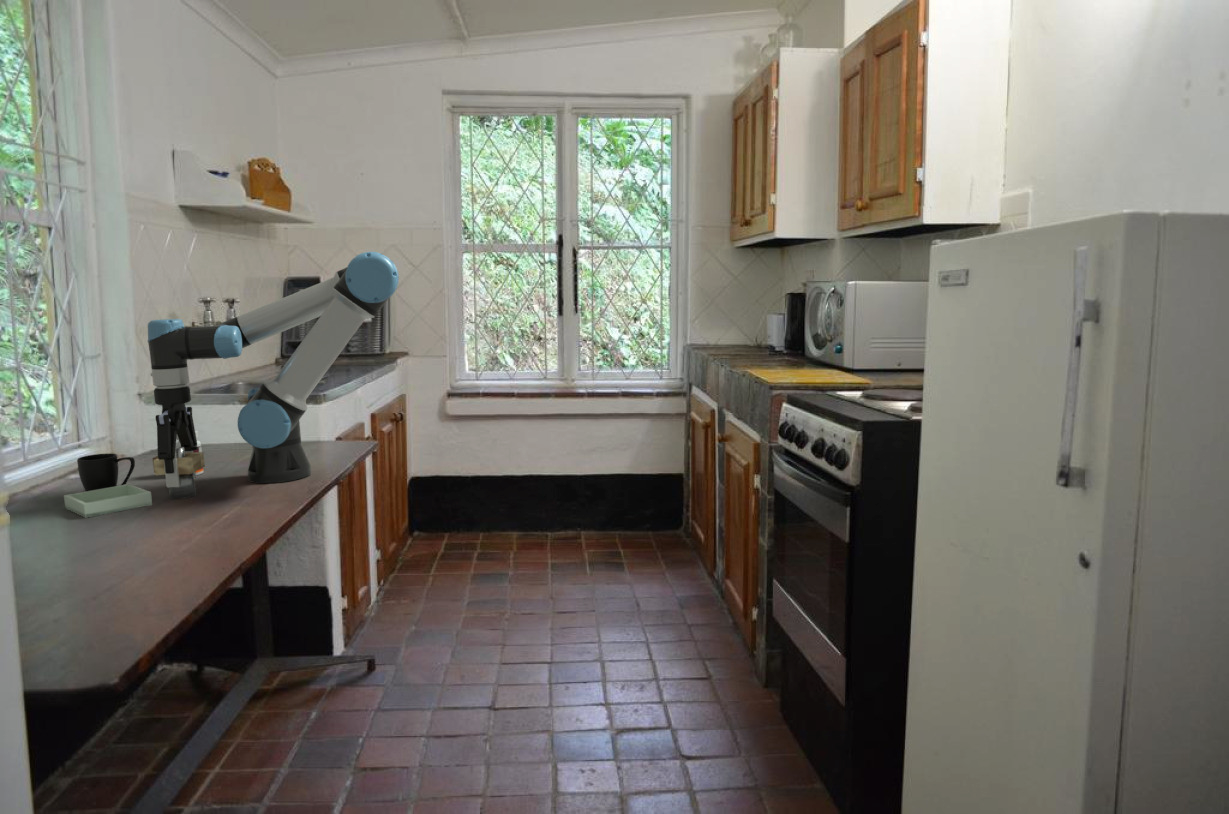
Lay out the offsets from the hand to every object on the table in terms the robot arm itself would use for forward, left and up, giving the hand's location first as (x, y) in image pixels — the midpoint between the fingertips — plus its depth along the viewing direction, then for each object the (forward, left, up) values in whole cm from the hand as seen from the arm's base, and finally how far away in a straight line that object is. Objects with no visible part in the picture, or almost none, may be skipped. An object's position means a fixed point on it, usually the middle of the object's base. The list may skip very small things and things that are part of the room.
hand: (181, 482), depth 208 cm
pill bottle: (+8, -24, -3) cm, 26 cm away
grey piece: (0, 0, -3) cm, 3 cm away
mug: (+19, -3, -3) cm, 19 cm away
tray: (+13, +8, -3) cm, 16 cm away
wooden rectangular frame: (0, 0, +3) cm, 3 cm away
